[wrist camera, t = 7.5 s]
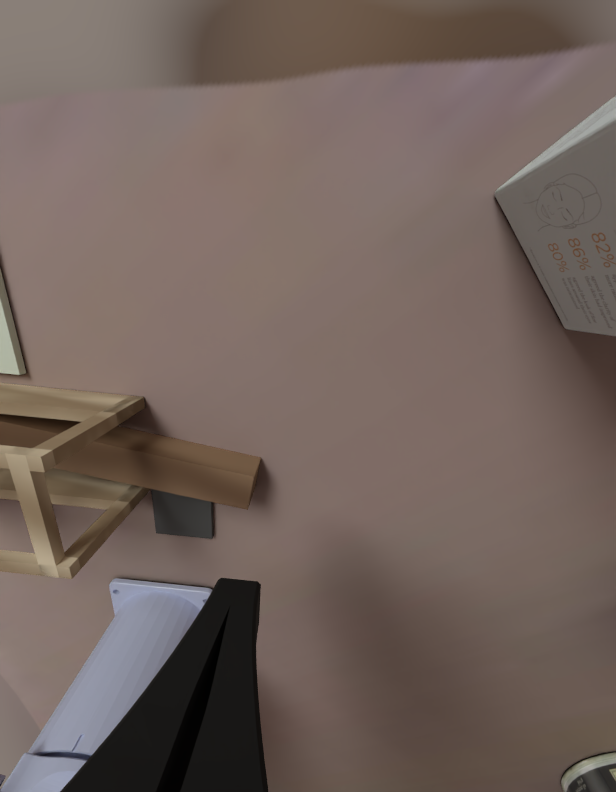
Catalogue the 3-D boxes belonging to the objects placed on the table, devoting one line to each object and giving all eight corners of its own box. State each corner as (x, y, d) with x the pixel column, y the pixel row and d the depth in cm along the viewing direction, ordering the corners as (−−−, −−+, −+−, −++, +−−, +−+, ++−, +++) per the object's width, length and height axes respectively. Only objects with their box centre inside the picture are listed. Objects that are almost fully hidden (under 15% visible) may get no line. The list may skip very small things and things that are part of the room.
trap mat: (213, 535, 21) (211, 538, 21) (158, 529, 21) (156, 533, 21) (212, 489, 20) (210, 492, 19) (153, 483, 20) (150, 485, 19)
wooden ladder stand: (153, 485, 20) (72, 579, 13) (8, 470, 20) (-143, 556, 13) (143, 396, 17) (40, 456, 11) (-20, 380, 18) (-215, 431, 11)
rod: (256, 484, 20) (247, 509, 17) (-13, 426, 19) (-57, 444, 17) (262, 454, 19) (254, 476, 17) (-18, 392, 18) (-66, 406, 16)
